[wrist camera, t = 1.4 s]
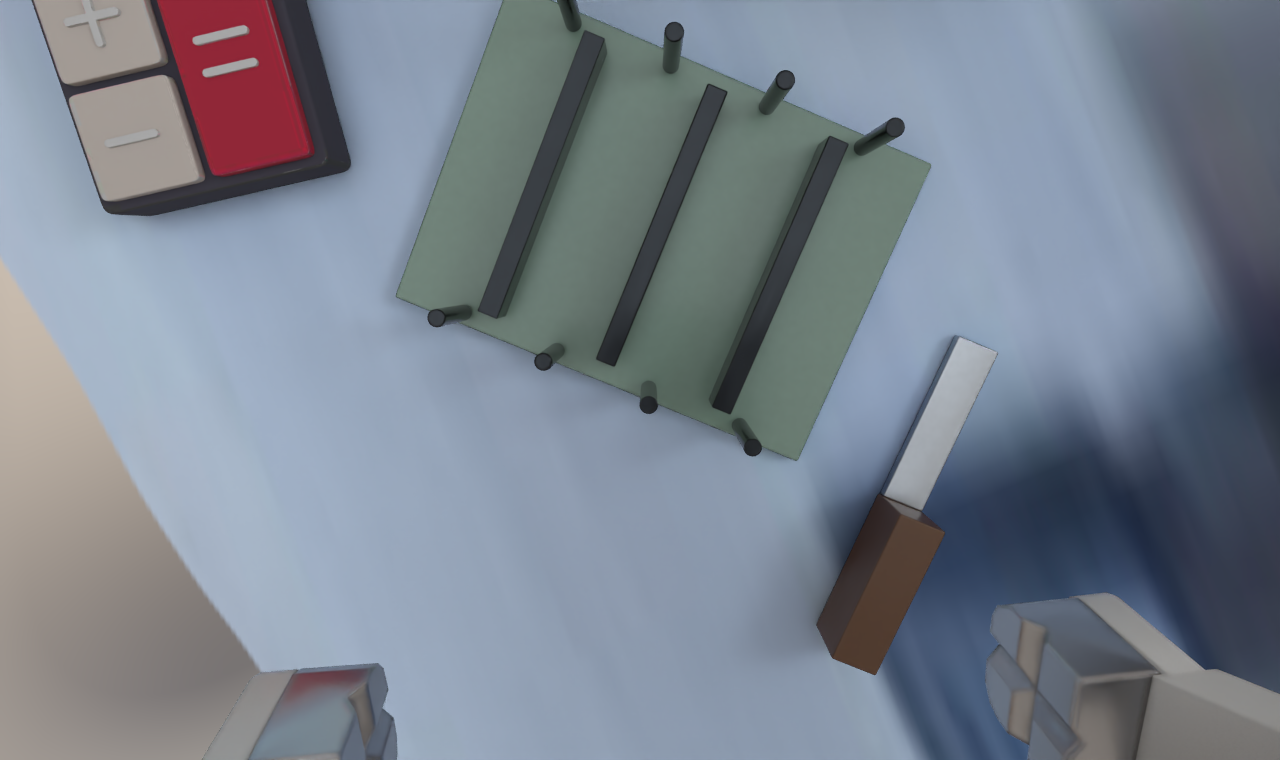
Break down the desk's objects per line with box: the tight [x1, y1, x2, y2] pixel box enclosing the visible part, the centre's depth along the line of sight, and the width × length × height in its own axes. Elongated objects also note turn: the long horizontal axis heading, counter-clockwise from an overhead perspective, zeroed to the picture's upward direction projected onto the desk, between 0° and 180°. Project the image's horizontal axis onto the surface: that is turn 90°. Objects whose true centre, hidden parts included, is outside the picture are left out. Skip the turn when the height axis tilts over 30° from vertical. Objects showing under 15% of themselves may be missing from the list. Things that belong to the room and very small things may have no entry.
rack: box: [396, 0, 931, 461], centre depth 35 cm, size 22×16×6 cm
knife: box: [816, 336, 998, 675], centre depth 38 cm, size 17×2×4 cm, turn 158°
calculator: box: [32, 0, 350, 216], centre depth 35 cm, size 11×4×15 cm
